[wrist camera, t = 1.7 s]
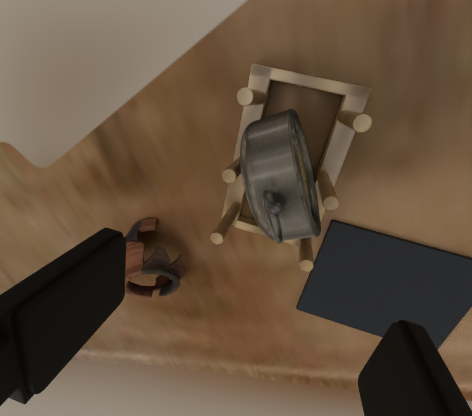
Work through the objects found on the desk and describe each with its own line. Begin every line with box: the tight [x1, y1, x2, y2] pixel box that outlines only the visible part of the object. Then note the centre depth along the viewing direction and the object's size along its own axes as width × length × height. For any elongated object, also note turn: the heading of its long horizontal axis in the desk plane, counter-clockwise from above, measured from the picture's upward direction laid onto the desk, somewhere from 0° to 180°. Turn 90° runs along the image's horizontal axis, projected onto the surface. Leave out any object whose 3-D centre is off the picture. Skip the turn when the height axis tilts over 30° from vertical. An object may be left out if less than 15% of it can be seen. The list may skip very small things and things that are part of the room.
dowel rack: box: [210, 64, 372, 271], centre depth 25 cm, size 11×18×10 cm, turn 169°
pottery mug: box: [125, 218, 185, 298], centre depth 36 cm, size 12×10×8 cm
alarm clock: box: [240, 109, 321, 244], centre depth 22 cm, size 11×5×16 cm, turn 18°
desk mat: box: [297, 220, 472, 349], centre depth 32 cm, size 18×14×1 cm
